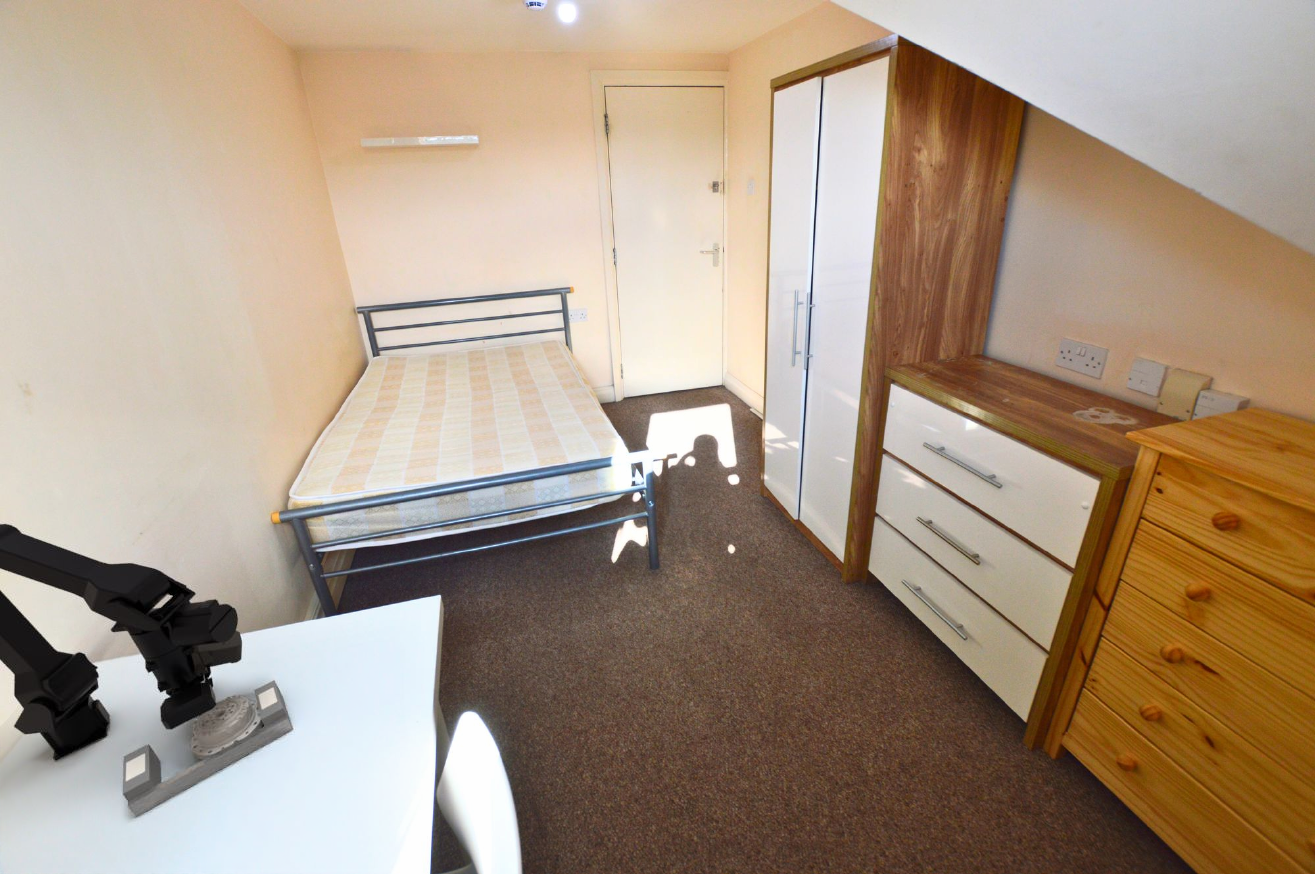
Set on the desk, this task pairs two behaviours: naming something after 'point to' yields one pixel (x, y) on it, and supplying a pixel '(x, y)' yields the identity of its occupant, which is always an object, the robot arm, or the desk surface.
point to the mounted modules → (146, 766)
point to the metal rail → (208, 766)
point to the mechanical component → (224, 725)
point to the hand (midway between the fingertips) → (206, 715)
